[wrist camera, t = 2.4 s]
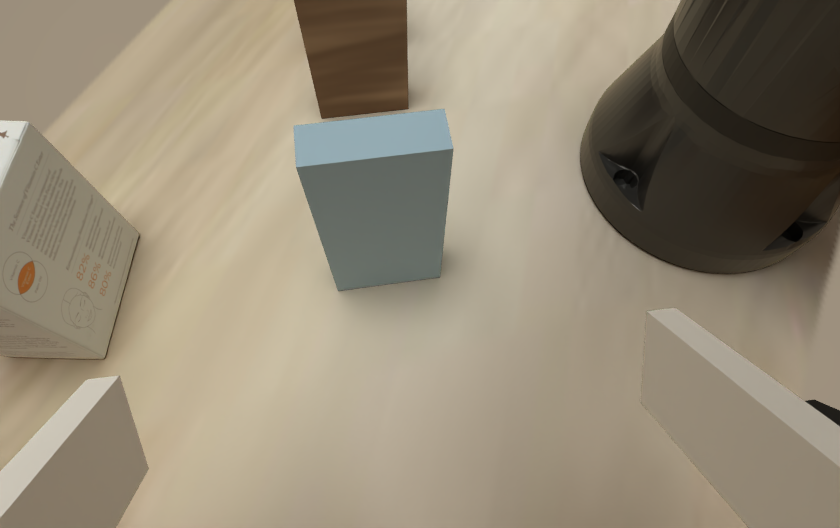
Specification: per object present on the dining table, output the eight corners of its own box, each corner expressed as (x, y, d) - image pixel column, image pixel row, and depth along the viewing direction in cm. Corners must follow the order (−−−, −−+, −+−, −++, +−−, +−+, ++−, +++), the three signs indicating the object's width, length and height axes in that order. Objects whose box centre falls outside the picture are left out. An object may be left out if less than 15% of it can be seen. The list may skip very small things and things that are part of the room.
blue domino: (439, 277, 31) (453, 148, 20) (338, 291, 31) (296, 167, 20) (434, 247, 32) (444, 108, 21) (335, 260, 31) (293, 125, 21)
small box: (52, 231, 32) (-100, 111, 23) (143, 233, 32) (30, 115, 23) (3, 360, 29) (-199, 282, 19) (106, 362, 29) (-46, 286, 19)
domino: (408, 108, 37) (405, -63, 26) (321, 118, 36) (281, -52, 25) (404, 87, 37) (399, -88, 27) (319, 96, 37) (280, -78, 26)
